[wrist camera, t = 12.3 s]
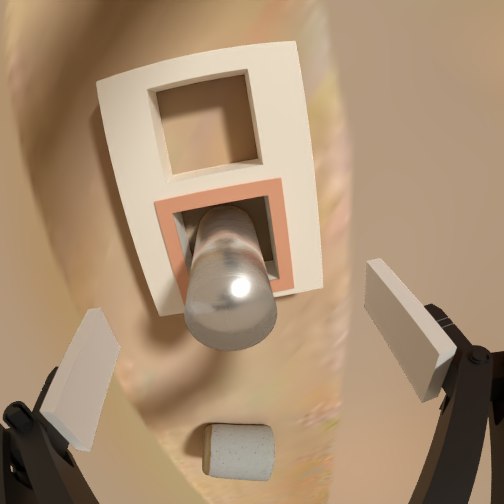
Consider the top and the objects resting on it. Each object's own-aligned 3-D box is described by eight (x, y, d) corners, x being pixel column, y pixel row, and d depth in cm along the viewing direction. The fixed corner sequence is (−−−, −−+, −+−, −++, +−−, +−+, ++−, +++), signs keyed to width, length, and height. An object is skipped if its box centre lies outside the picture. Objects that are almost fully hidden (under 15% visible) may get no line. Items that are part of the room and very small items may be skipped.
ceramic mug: (204, 412, 34) (204, 466, 27) (271, 414, 35) (280, 466, 28) (201, 450, 38) (201, 495, 31) (256, 451, 39) (262, 495, 32)
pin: (218, 194, 23) (216, 258, 13) (265, 224, 25) (295, 304, 15) (187, 239, 25) (167, 326, 15) (233, 267, 26) (242, 362, 16)
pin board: (110, 84, 19) (94, 81, 16) (286, 49, 19) (296, 40, 16) (164, 296, 26) (159, 318, 24) (313, 269, 27) (323, 289, 24)
